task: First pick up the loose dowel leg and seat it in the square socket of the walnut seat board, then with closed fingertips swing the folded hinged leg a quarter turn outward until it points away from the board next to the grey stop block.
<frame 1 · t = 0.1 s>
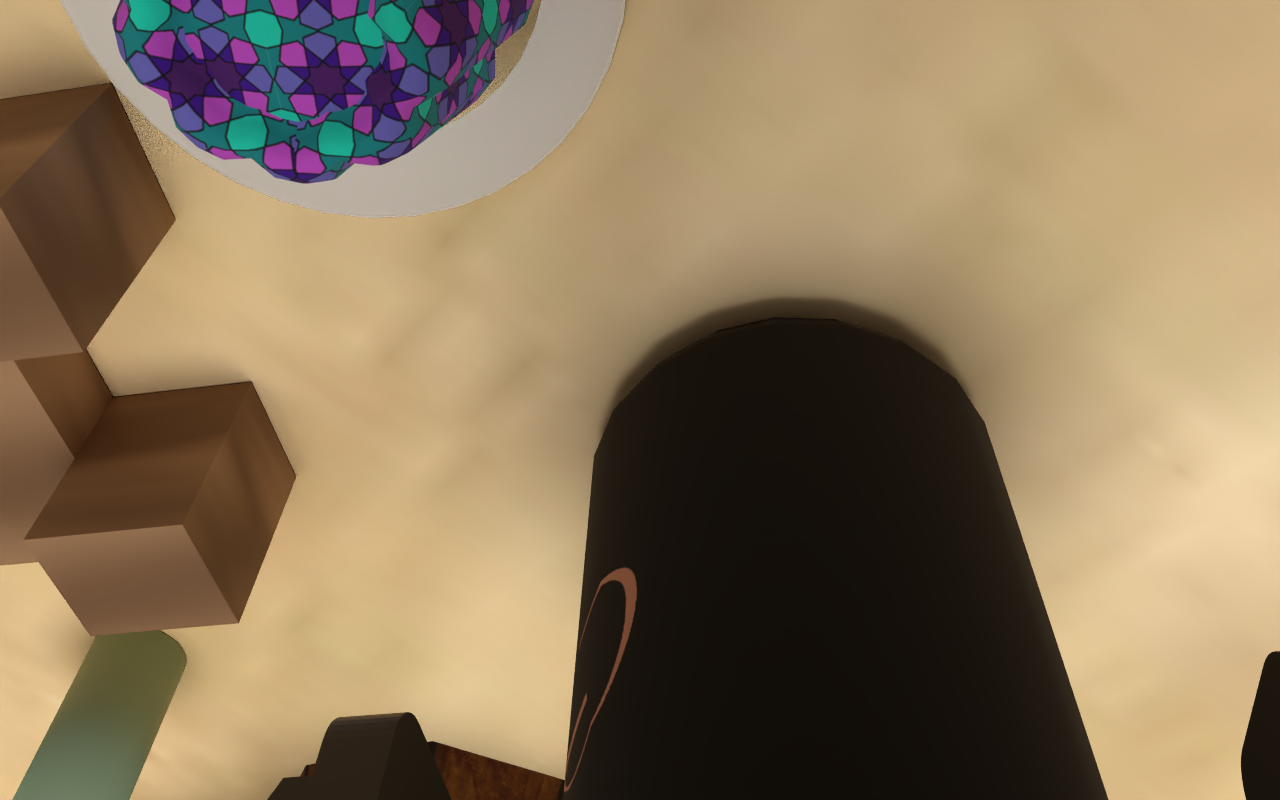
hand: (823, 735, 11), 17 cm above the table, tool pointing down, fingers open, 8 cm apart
coffee jar: (785, 449, 32), on the table
dowel leg: (140, 652, 38), on the table
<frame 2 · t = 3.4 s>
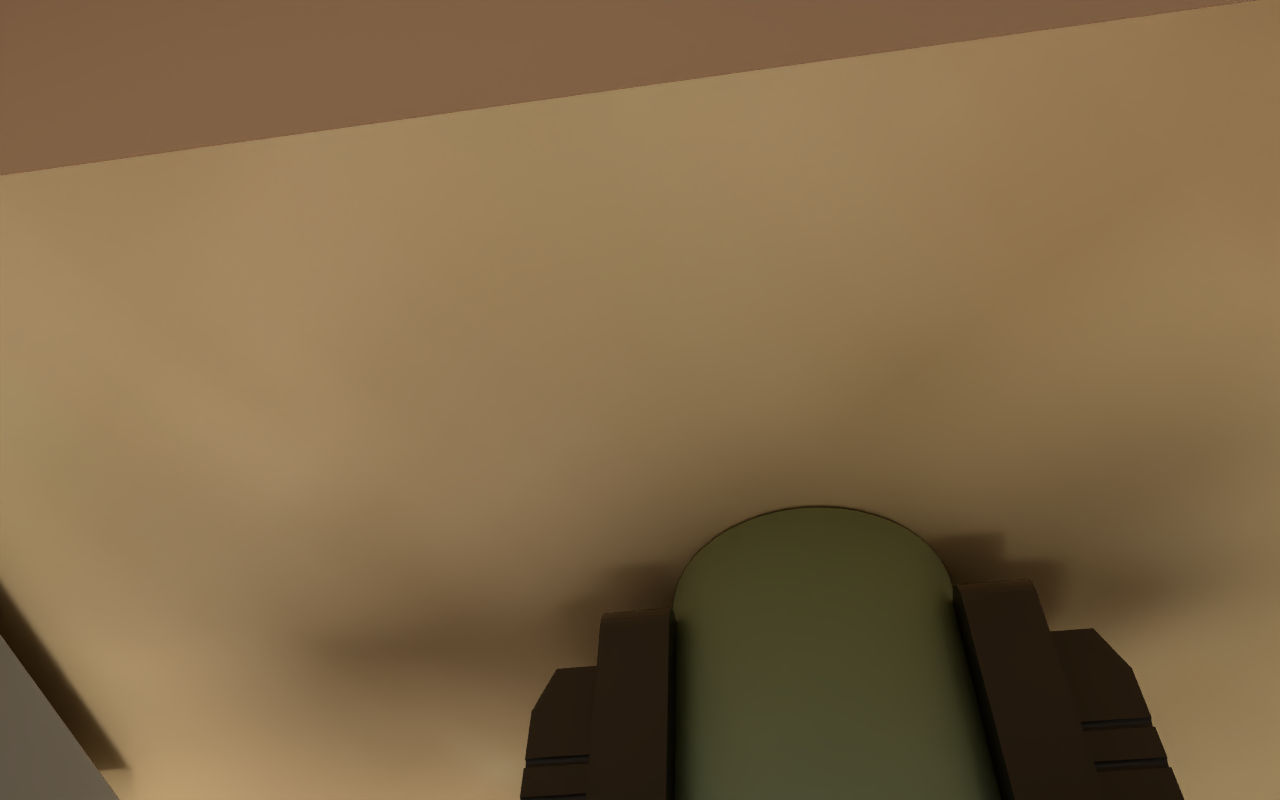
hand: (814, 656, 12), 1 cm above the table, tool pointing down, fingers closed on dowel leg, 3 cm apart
dowel leg: (811, 610, 12), on the table, touching gripper
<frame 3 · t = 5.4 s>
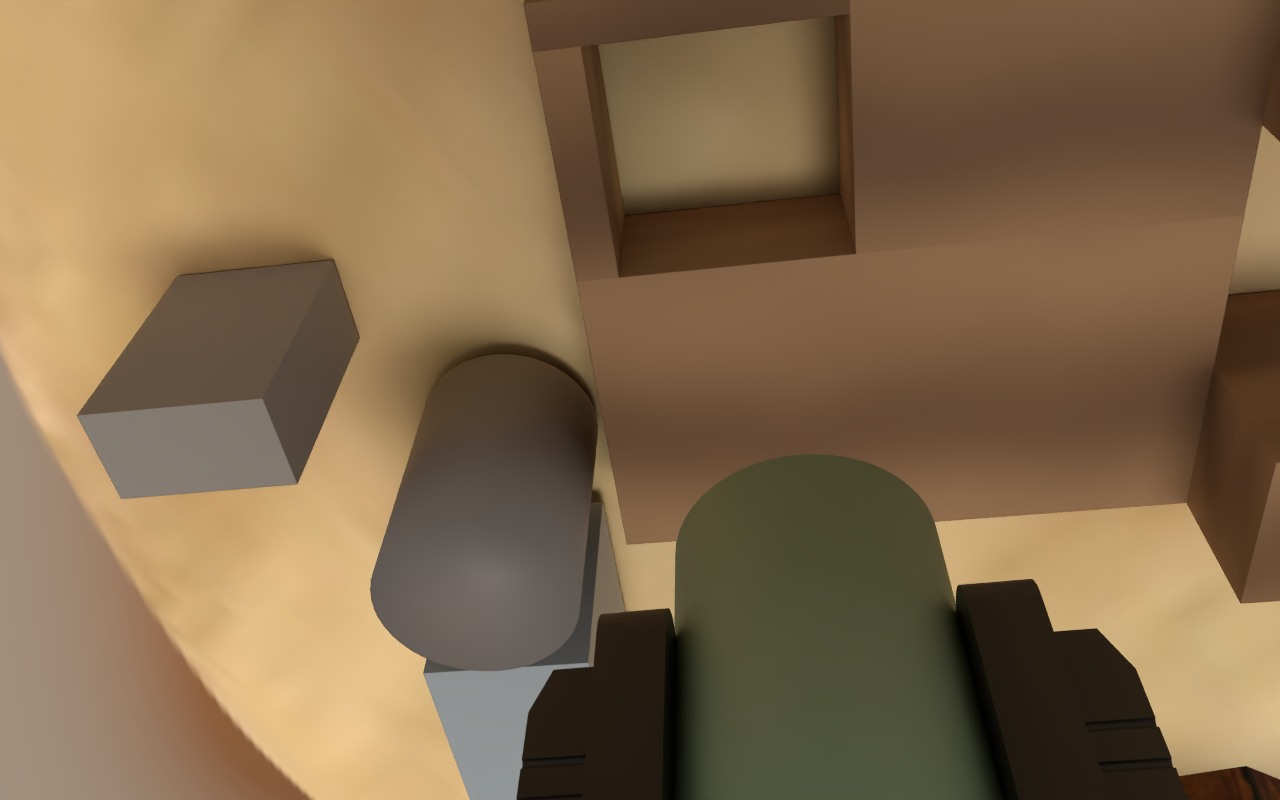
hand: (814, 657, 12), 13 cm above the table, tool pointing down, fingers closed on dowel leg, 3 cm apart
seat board: (881, 224, 23), on the table
hinged leg: (534, 649, 26), point 3 cm above the table, hinge at 0.0°
stop block: (269, 307, 25), on the table
dowel leg: (805, 555, 13), point 11 cm above the table, touching gripper
when the fingers open (3 cm above the table, at t = 7.7 s): dowel leg drops 2 cm, resting in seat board.
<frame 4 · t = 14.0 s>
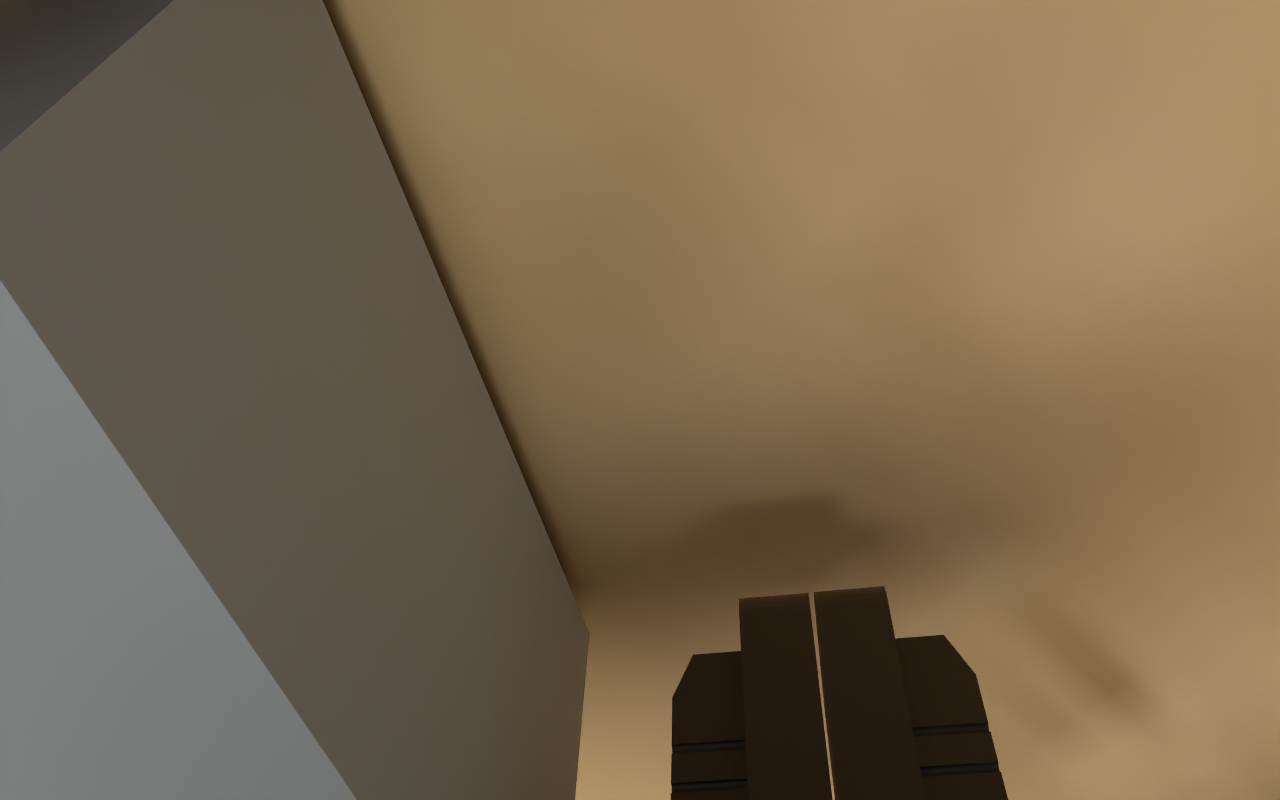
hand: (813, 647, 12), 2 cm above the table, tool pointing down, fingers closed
hinged leg: (69, 358, 8), point 3 cm above the table, hinge at 0.3°, touching gripper
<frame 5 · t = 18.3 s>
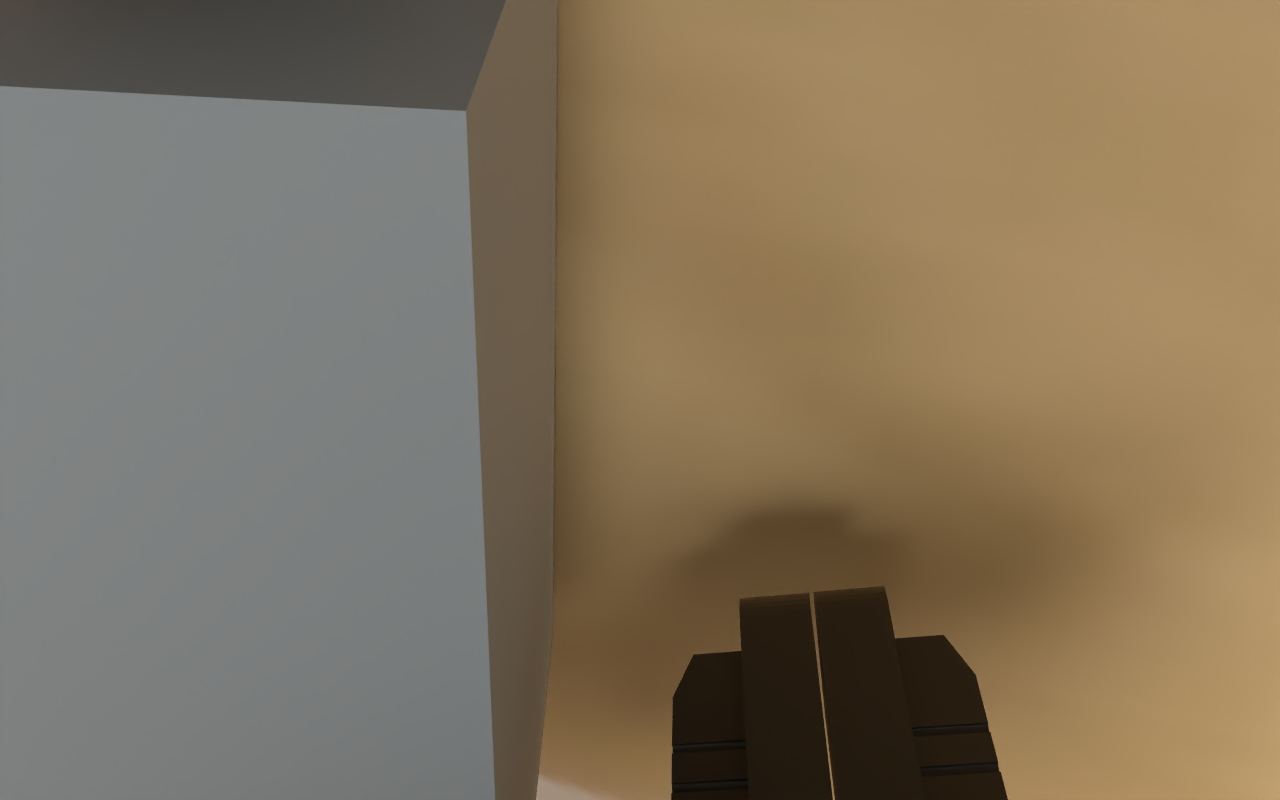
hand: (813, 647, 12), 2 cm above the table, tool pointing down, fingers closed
hinged leg: (257, 257, 7), point 3 cm above the table, hinge at 52.7°, touching gripper
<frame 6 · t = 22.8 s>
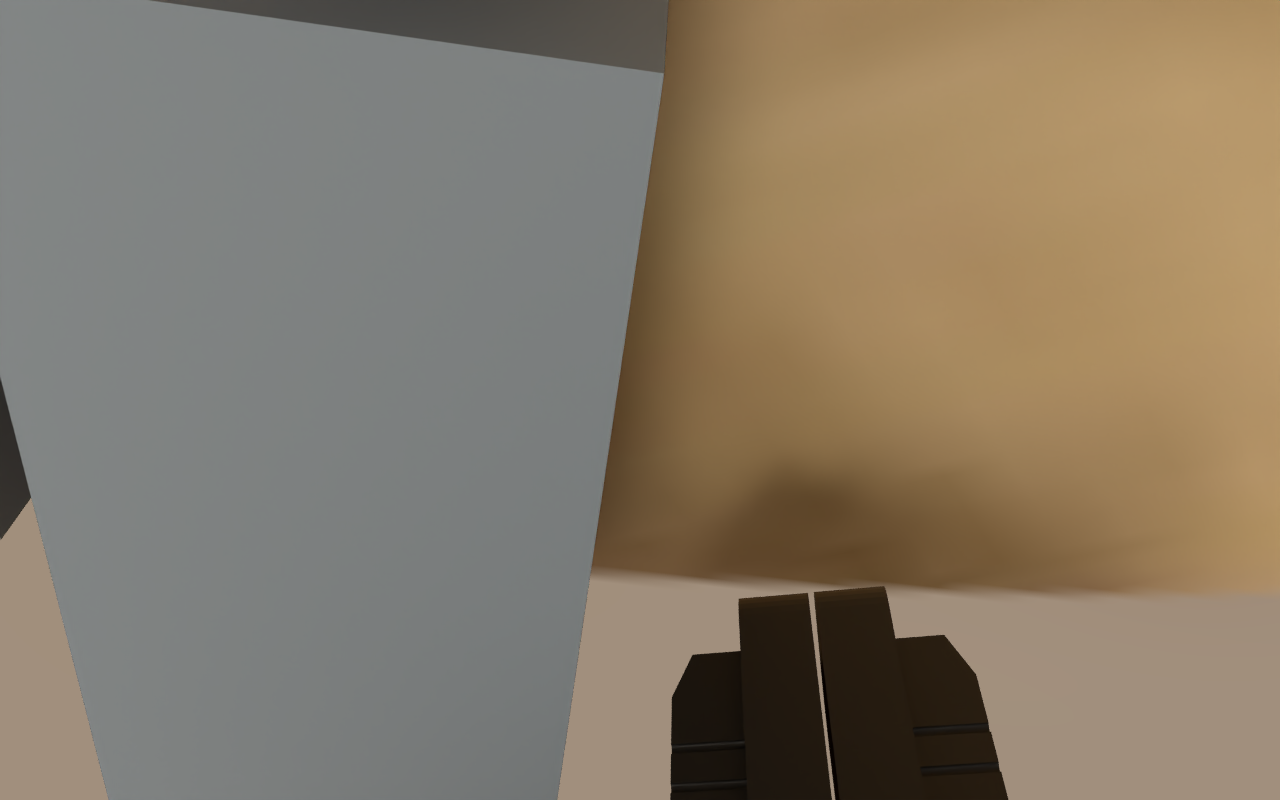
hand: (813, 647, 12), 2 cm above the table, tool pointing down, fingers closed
hinged leg: (391, 194, 8), point 3 cm above the table, hinge at 91.8°
stop block: (110, 31, 11), on the table
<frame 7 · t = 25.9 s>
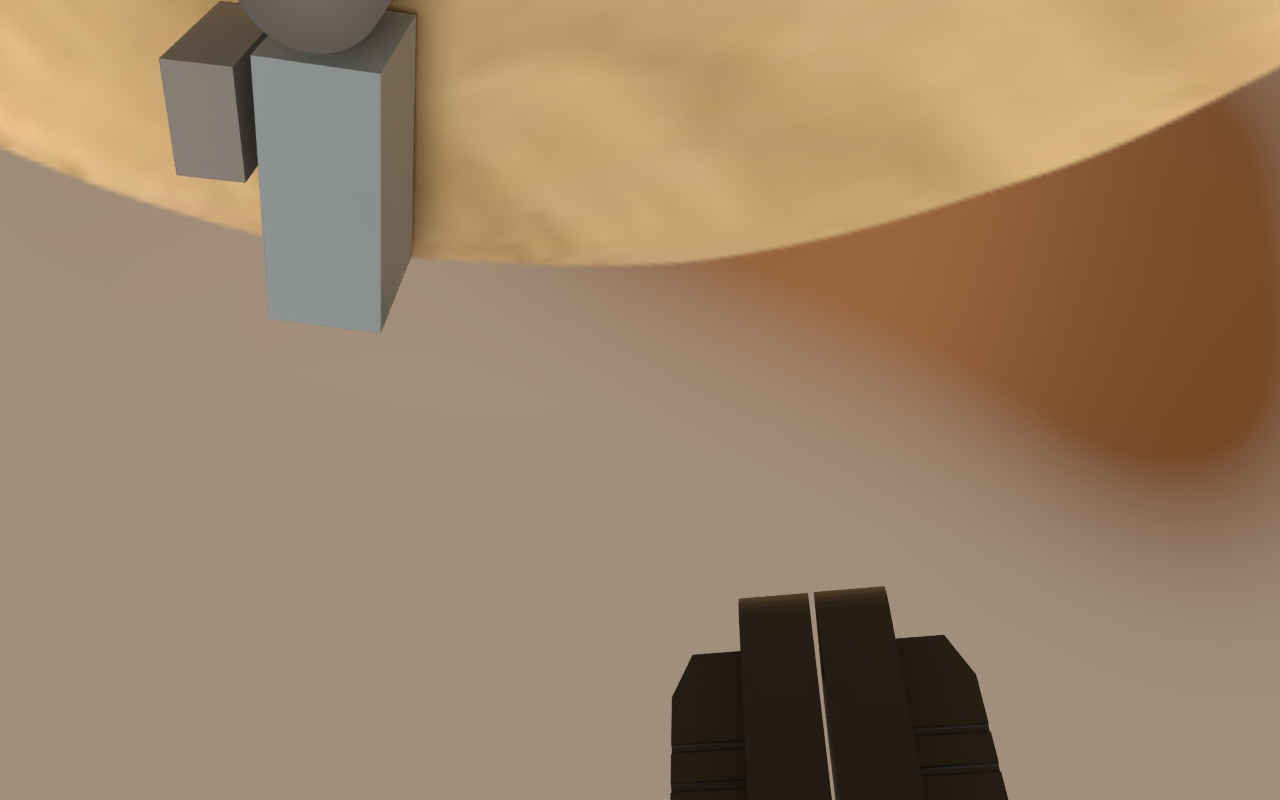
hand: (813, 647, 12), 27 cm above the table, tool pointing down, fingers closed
hinged leg: (338, 102, 34), point 3 cm above the table, hinge at 91.8°
stop block: (257, 60, 36), on the table
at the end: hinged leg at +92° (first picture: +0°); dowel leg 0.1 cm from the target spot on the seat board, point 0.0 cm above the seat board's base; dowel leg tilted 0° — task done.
